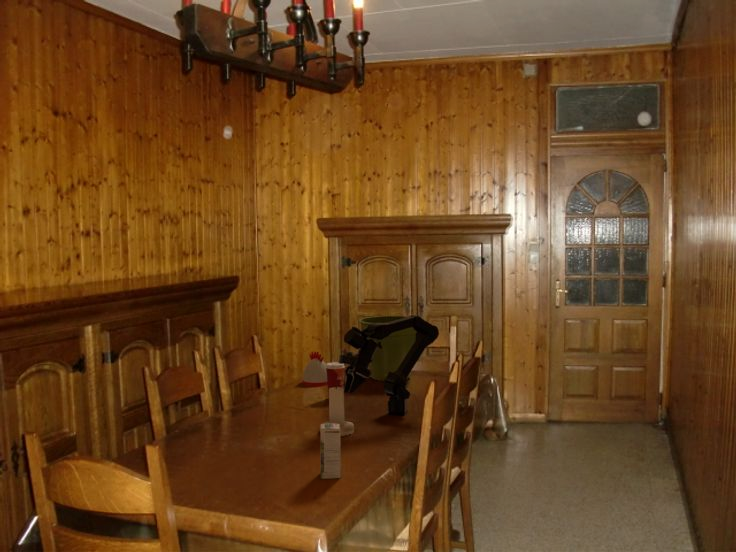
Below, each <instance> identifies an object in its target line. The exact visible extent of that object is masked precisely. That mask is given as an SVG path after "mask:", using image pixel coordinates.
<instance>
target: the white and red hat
mask: <svg viewBox="0 0 736 552" xmlns="http://www.w3.org/2000/svg"><path fill="white" fill-rule="evenodd" d="M308 356H309V359H310V361H309V362H308V363H307V364H306V366H305V368H304V369H303V370H304V371H303V373H302V378H301V382H302V385H303V386H308V387H324V386H328V385H327V371H326V368H325V367H326V364H327V363H326V362H325V361H324V356H322V354H320V353H319V351H311V353H309V354H308Z"/></svg>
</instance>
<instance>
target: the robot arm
mask: <svg viewBox="0 0 736 552" xmlns="http://www.w3.org/2000/svg"><path fill="white" fill-rule="evenodd" d="M408 316H409V317H405V318H402V319H398V320H395V321H391V322H388V323H371V324H369V325H368V327H367V328H366V329H364V330H362V331H361V329H359V328H358V327H356V326H351V328H350V329H349V330H348V331H346V333H345V334H344V336H343V342H344V343H345V344H347V345H349V346H351V347H352V348H353V349H355V350H358V351H357V353H355V354H354V355H352V353H351V352H346V353H345V354H339V356H338V357H339V358H338V362H339V364H344V365H348V366H345V367H344V377H345V383H344V384H345V385H344V386H343V388H344V394H347V393H350V394H353V393H354V392H355V391H356V390H357V389H358V388H359V387H360V386H361V385H363V384H364V383H365V382H366V381H368V379H370V378H371V371H370V368H369V364H370V363H372V358H373V355H374V353H375V351H376V349H377V348H379V349H382V345H381V342H379V341H377V342H376V341H374V340H372V339H378V340H382V339H384V338H386V337H388V336H389V335H390V334H391V333H393V332H397V331H400V330H404V329H407V328H411V327H413V329H414V330H415V331H416V338H415V342H414V344H413V345H412V347H411V349H410V350H409V352H408V353H407V355H406V356H405V358H404V360H403V361H402V363H401V364H400V366H399V367H398V369H397V370H396V371H395V372H394V373H393V372H389V373H388V375H387V377H386V378H385V379H384V380H385V381H383V383H382V387H383V390H384V392H385V394H386V396H387V397H389V399H388V401H387V415H395V416H404V415H406V414H407V413H408V412H409V410H408V405H407V404H408V402H407V400H408V399H410V396H411V392H410V391H409V390H408V389H407V388H406V387H407V383H408V379H407V377H408V375H409V374H410V372H412V370H413V369H414V367H415V365H416V364H417V363H418V361H419V359H420V357H421V356H422V354H423V353H424V352H425V349H426V348H428V347H429V346H430V345H431V344H433V343H434V342H435V341H436V340H437V339H438V337H439V335H440V331H439V328H438V326H436V325H433V324H432V323H430V322H428V321H427V320H425V319H423V318H422V317H421V316H419V315H416V314H415V315H414V314H411V315H408ZM367 338H372V339H369V340H368V339H367ZM368 368H369V369H368Z"/></svg>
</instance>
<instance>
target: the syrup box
mask: <svg viewBox="0 0 736 552" xmlns="http://www.w3.org/2000/svg"><path fill="white" fill-rule="evenodd" d="M320 425H321V433H320V442H319V445H320V446H319V452H320V453H319V455H320V456H319V459H320V460H319V461H320V470H319V471H320V479H321V480H326V479H327V480H329V479H341V473H342V472H341V436H340V424H334V423H328V424H323V423H321V424H320Z"/></svg>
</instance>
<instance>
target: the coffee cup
mask: <svg viewBox="0 0 736 552" xmlns="http://www.w3.org/2000/svg"><path fill="white" fill-rule="evenodd" d="M345 367H346V366H345V364H339V361H338V362H337V361H336V362H335V361H334V362H327V363H326V367H325V368H326V371H327V385H326V386H327V394H328V395H327V396H328V398H329V388H332V387H336V386H337V387H342V388H344V379H345V378H344V377H345V374H344V370H345Z"/></svg>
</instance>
